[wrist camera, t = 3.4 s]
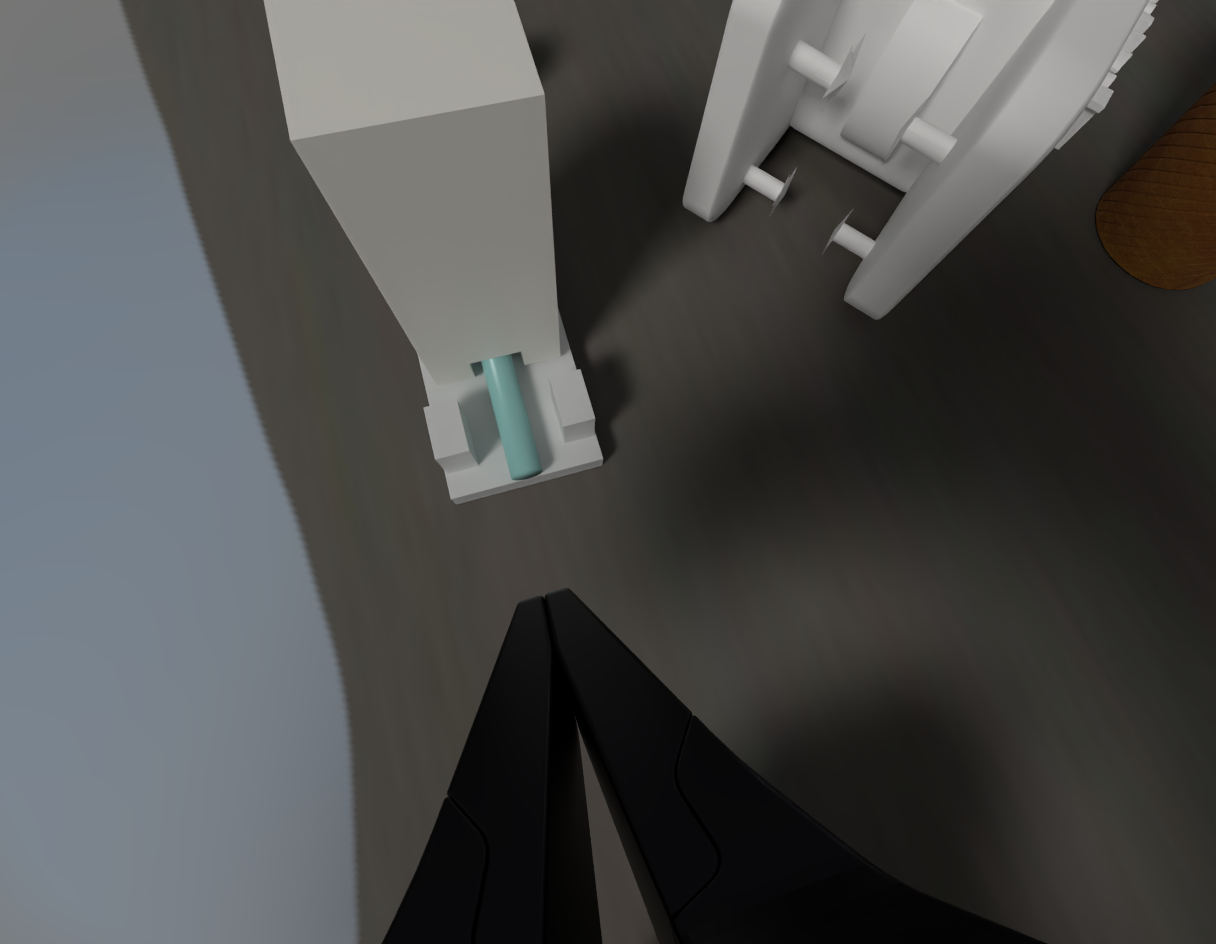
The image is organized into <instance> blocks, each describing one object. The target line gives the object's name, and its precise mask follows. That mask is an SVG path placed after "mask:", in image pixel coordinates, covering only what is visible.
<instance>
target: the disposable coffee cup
mask: <svg viewBox="0 0 1216 944" xmlns="http://www.w3.org/2000/svg"><path fill="white" fill-rule="evenodd" d="M1096 225H1097V230H1098V234H1099V237H1100V239H1101V241H1102V243H1103V246H1104V247H1105V249H1106V250H1107V252H1108V253H1109V255H1110V256H1111V257H1112V258H1113V259H1114V260H1115V261H1116V263H1117V264H1118V265H1119V266H1120V267H1122V268H1123V269H1124V270H1125V271H1127V272H1128V273H1129V274H1130V275H1132V276H1134V277H1136V278H1138V279H1139V280H1141V281H1143V282H1145V283H1147V284H1150V285H1152V286H1155V287H1159V288H1164V289H1170V290H1185V289H1192V288H1194V287H1197V286H1200V285H1202V284H1204V283H1206V282H1209V281H1211V280H1213V279H1216V83H1215V84H1214V85H1213V86H1212V87H1211V88H1210V89H1209V90H1208V91H1207V92H1206V93H1205V94H1204V95H1203V96H1202V97H1201V98H1200V99H1199V100H1198V101H1197V102H1196V103H1195V104H1194V105H1193V106H1192V107H1191V108H1190V109H1189V110H1188V111H1187V112H1186V113H1185V114H1184V115H1183V116H1182V117H1181V118H1180V119H1179V120H1178V121H1177V122H1176V123H1175V124H1174V125H1173V126H1172V127H1171V128H1170V129H1169V130H1168V131H1167V132H1166V133H1165V134H1164V135H1163V136H1162V137H1161V138H1160V139H1159V140H1158V141H1157V142H1156V143H1155V144H1154V145H1153V146H1152V147H1151V148H1150V149H1149V150H1148V151H1147V152H1146V153H1145V154H1144V155H1143V156H1142V157H1141V158H1140V159H1139V160H1138V161H1137V162H1136V163H1135V164H1134V165H1133V166H1132V167H1131V168H1130V169H1129V170H1128V171H1127V172H1126V173H1125V174H1124V175H1123V176H1122V177H1121V178H1120V179H1119V180H1118V181H1117V182H1116V183H1115V184H1114V185H1113V186H1112V187H1111V188H1110V189H1109V190H1107V192H1106V193H1105V194H1104V195H1103V196H1102V198H1101V200H1100V202H1099V203H1098V207H1097V211H1096Z"/></svg>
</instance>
